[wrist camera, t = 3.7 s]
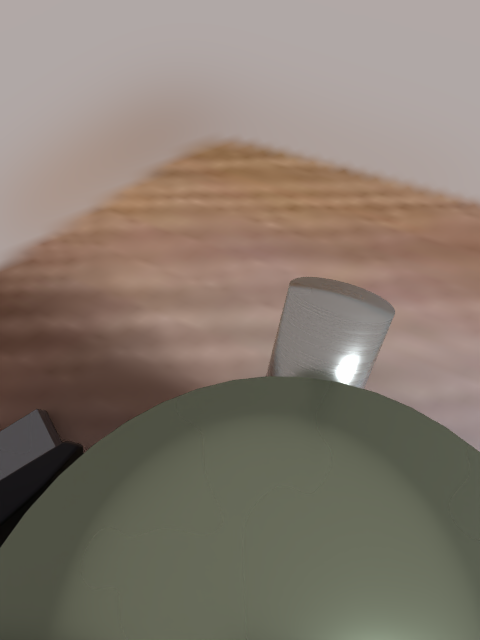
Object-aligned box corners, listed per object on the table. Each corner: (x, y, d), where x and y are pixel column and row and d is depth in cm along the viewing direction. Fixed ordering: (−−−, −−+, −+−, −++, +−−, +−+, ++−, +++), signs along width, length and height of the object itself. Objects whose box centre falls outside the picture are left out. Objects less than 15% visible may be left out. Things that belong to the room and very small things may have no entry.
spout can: (298, 604, 13) (859, 1840, 2) (148, 567, 14) (-372, 1413, 2) (323, 404, 16) (600, 295, 4) (198, 377, 16) (125, 196, 4)
